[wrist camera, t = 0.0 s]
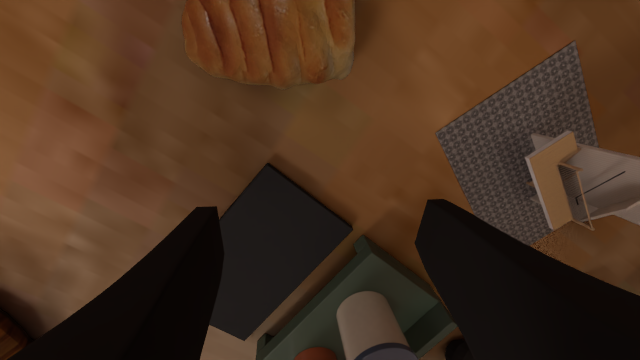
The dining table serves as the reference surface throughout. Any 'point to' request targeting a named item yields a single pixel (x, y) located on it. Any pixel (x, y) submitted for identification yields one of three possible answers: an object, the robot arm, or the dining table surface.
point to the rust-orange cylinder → (316, 354)
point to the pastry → (271, 40)
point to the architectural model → (540, 156)
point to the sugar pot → (371, 329)
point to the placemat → (270, 249)
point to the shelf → (361, 275)
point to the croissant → (11, 337)
